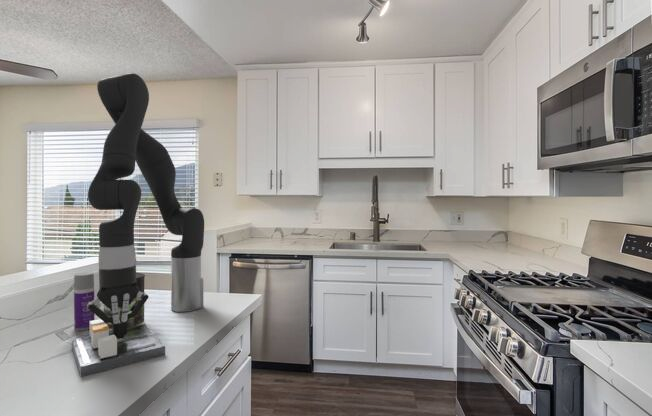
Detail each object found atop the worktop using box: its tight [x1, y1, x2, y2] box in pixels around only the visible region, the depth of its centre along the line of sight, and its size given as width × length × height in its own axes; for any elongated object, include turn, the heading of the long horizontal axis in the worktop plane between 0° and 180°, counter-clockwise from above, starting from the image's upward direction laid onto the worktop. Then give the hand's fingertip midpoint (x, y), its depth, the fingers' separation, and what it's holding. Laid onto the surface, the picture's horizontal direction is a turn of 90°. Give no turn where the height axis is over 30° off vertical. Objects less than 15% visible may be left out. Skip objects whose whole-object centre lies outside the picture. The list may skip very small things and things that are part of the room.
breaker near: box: [98, 335, 117, 359], centre depth 76 cm, size 3×3×4 cm
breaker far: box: [89, 318, 106, 337], centre depth 86 cm, size 3×3×4 cm
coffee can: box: [103, 272, 146, 331], centre depth 100 cm, size 10×10×14 cm
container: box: [73, 271, 95, 331], centre depth 98 cm, size 5×5×15 cm
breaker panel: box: [71, 323, 166, 377], centre depth 83 cm, size 16×19×2 cm
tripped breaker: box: [91, 324, 109, 349], centre depth 81 cm, size 3×3×4 cm
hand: (119, 337), depth 83 cm, fingers closed
